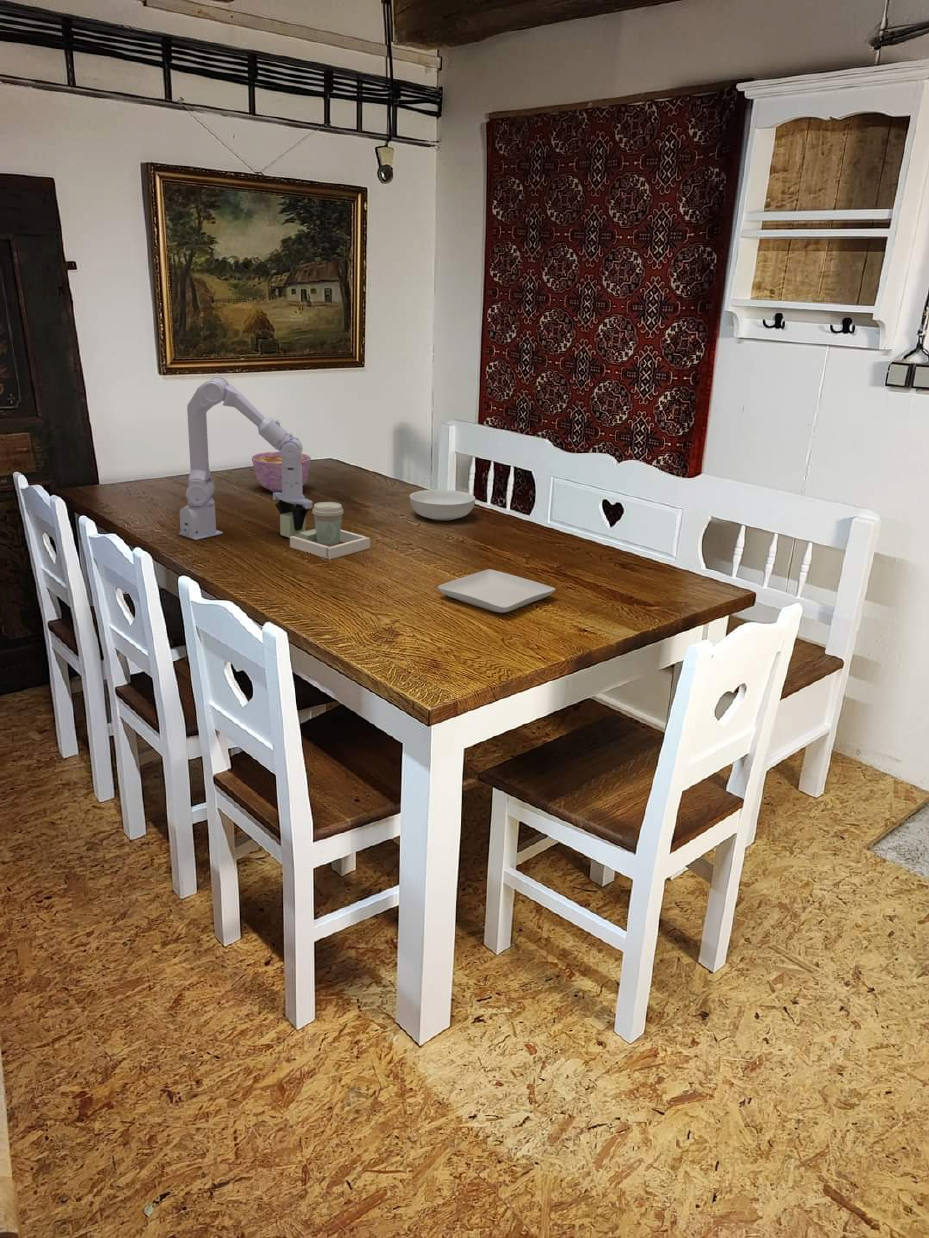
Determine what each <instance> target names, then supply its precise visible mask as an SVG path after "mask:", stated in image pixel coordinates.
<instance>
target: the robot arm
mask: <svg viewBox="0 0 929 1238" xmlns="http://www.w3.org/2000/svg"><path fill="white" fill-rule="evenodd" d="M222 402H223V403H222ZM220 403H222V406H224V407H230V408H234V409H236V410H237V411H238V412H240V413H241V414H242V415H243V416H245V417H246V418H247V419H248V420H249V421H250V422H252V423H253V424H254V425H255V426H256V427H257V431H258V435H260V437H262V438H263V439H264V440H265V441H267V443H268V444H269V445H270V446H271V447H272V448H273V449H275V450H277V451H278V452H279V454H280V456H281V458H282V466H281V471H282V493H280V492H276V493H274V492H272V500H273V501H278V502H277V503H275V507H276V510H278V513H279V515H280V514H284V513H289V512H292V514H293V518H294V528H295V531H299V530H302V527H303V523H304V519H305V517H306V516H307V514H308V513H309V510H310V509H313V508H314V506H313V500H310V499H308V498H306V497H305V495H304V494H303V493H304V492H303V486H302V465H301V463H302V460H301V454H303V444H302V442H301V441H300V439H299V438H298V437H295V436H294V434H293V433H292V432H291V433H289V432H288V431H287V430H286V429H285V428H284V427H283V426H282V425H281V422H280V420H278V419H276V420H275V419H274V418H268V417H265V415H263V414H262V413H261V412H260V411H259V410H258V409H257V408H256V407H255V406H254V405H253V404H252V403H251V402H250V401H249V400H248V399H247V398H246V396H244V395H243V394H242V392H240V391H239V390H238V389H237V388H236V387H235V386H234V385H233V384H231V383H229V381H227V380H226V379H225V378H223V377H221V376H214V377H212V378H211V379H209V380H207V381H205V382H204V383H202V384H201V385H200V386H198V387H197V388H196V390H195V392H194V394H193V396H192V397H191V399H190V401H189V402H188V403H187V406H186V410H187V414H186V415H187V430H188V446H189V464H190V465H189V466H190V469H189V470H190V472H189V475H188V487H187V489H186V491H185V498H186V500H187V503H188V504H187V505H186V506H184V507H180V511H179V525H180V527H179V529H180V532H179V533H178V535H180V536H183V537H186V538H189V539H192V540H201V539H207V538H210V537H214V536H219V535H222V534H224V533H223V531H221V530H218V529H217V523H216V505H215V504H216V503H215V500H214V499H213V495H214V494H215V491H216V485H215V483H214V481H213V480H212V479H213V478H212V474H211V469H210V463H209V460H210V459H209V443H208V442H209V441H208V424H207V423H208V422H207V413H208V412H209V410H210V409H212V408H213V407H214V406H216V405H218V404H220Z"/></svg>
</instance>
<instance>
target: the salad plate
mask: <svg viewBox="0 0 929 1238" xmlns="http://www.w3.org/2000/svg"><path fill="white" fill-rule="evenodd" d="M437 589H438V591H439V592H441V593H442V594H444V595H445V596H448V597H450V598H452V599H455V600H457V601H460V602H462V603H465V604H469V605H471V606H475V607H478V608H481V609H485V610H487V611H491V612H495V613H499V614H500V613H503V614H504V613H508V612H511V611H515V610H517V609H519V607H520V608H521V607H524V606H526V605H529V604H531V603H535V602H537V601H540V600H542V599H545V598H546V597H549V596H550V595H552V594H554V592H555V591H556V588H555V587H552V586H549V585H547V584H544V583H541V582H537V581H535V580H530V579H528V578H527V579H526V578H524V577H521V576H517V575H514V574H510V573H506V572H503V571H499V570H495V569H484V570H482V571H479V572H475V573H472V574H470V575H465V576H463V577H460V578H457V579H454V580H451V581H448V582H445V583H442V584H439V585H438V586H437Z"/></svg>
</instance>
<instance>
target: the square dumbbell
mask: <svg viewBox="0 0 929 1238" xmlns="http://www.w3.org/2000/svg"><path fill="white" fill-rule="evenodd" d="M279 515H280V516H279V518H280V519H279V526H280V527H279V528H280V532H279V534H280V535H281V536H283V537H287V538H288V539H290V537H291V536H295V537H298V538H302V539H305V540H308V541H312V542H315V543H317V537H316V529H315V528H312V529H308V530H306V529H307V528H306V519H307V518H306V517H305V519H304V523H303V527H302V530H299V531H295V528H294V518H293V514H292V512H289V513H284V514H280V513H279Z"/></svg>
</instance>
